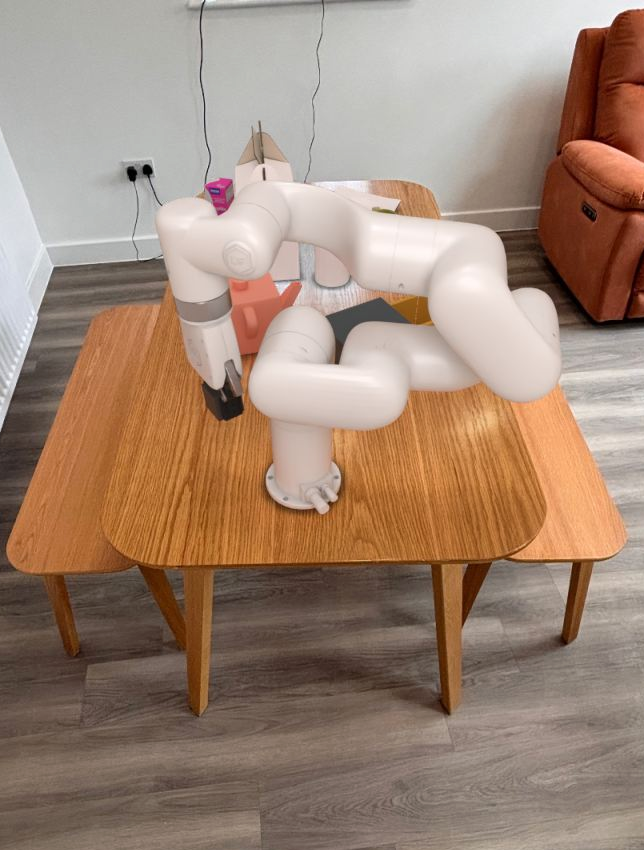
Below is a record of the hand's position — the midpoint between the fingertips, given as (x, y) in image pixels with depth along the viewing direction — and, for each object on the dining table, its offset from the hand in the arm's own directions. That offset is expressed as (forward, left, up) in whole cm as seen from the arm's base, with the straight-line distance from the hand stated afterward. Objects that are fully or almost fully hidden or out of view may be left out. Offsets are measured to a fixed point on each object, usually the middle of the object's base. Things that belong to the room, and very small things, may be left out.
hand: (225, 406), depth 98 cm
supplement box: (+84, -35, -15) cm, 92 cm away
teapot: (+35, -21, -15) cm, 43 cm away
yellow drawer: (+15, -48, -14) cm, 52 cm away
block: (0, 0, 0) cm, 0 cm away
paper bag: (+63, -38, -15) cm, 75 cm away
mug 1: (+46, -48, -15) cm, 68 cm away
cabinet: (+15, -35, -15) cm, 41 cm away
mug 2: (+55, -64, -15) cm, 86 cm away
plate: (+71, -67, -15) cm, 99 cm away
